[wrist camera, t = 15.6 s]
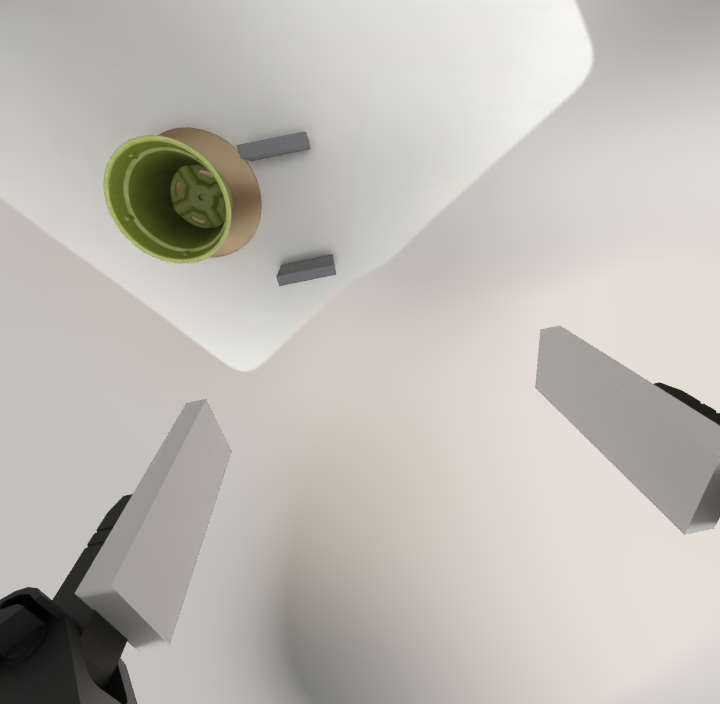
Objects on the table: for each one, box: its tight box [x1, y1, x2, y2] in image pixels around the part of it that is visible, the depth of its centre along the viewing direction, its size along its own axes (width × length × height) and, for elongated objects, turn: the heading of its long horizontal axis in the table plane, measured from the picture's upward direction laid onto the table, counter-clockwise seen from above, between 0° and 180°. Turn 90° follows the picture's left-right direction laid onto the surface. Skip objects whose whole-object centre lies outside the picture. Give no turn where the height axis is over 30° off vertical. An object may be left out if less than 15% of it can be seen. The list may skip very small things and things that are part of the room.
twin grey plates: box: [237, 132, 336, 286], centre depth 34 cm, size 13×6×5 cm, turn 10°
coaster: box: [158, 128, 261, 257], centre depth 35 cm, size 12×12×1 cm
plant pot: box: [104, 136, 233, 263], centre depth 31 cm, size 9×9×9 cm
